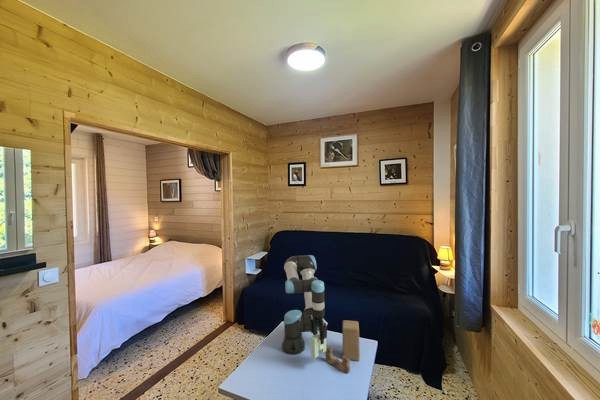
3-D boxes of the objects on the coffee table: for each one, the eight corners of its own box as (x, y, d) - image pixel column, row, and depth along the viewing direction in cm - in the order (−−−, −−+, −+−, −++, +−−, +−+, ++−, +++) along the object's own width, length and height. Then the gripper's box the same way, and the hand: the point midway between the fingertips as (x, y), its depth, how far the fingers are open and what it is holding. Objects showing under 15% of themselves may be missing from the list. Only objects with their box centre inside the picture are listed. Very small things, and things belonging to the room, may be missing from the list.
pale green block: (314, 358, 141) (314, 339, 141) (311, 356, 143) (310, 337, 143) (326, 350, 148) (326, 332, 148) (322, 348, 150) (322, 330, 150)
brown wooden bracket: (325, 360, 151) (325, 347, 151) (328, 359, 152) (327, 346, 152) (347, 374, 139) (347, 359, 139) (349, 372, 140) (349, 358, 140)
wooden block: (359, 361, 149) (359, 328, 149) (342, 359, 151) (342, 327, 151) (359, 351, 159) (358, 320, 159) (343, 350, 161) (342, 319, 161)
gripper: (303, 305, 148) (304, 344, 149) (324, 314, 137) (325, 356, 137) (312, 301, 153) (313, 339, 154) (332, 310, 142) (333, 350, 142)
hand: (318, 347), depth 146 cm, fingers closed on pale green block, 3 cm apart
